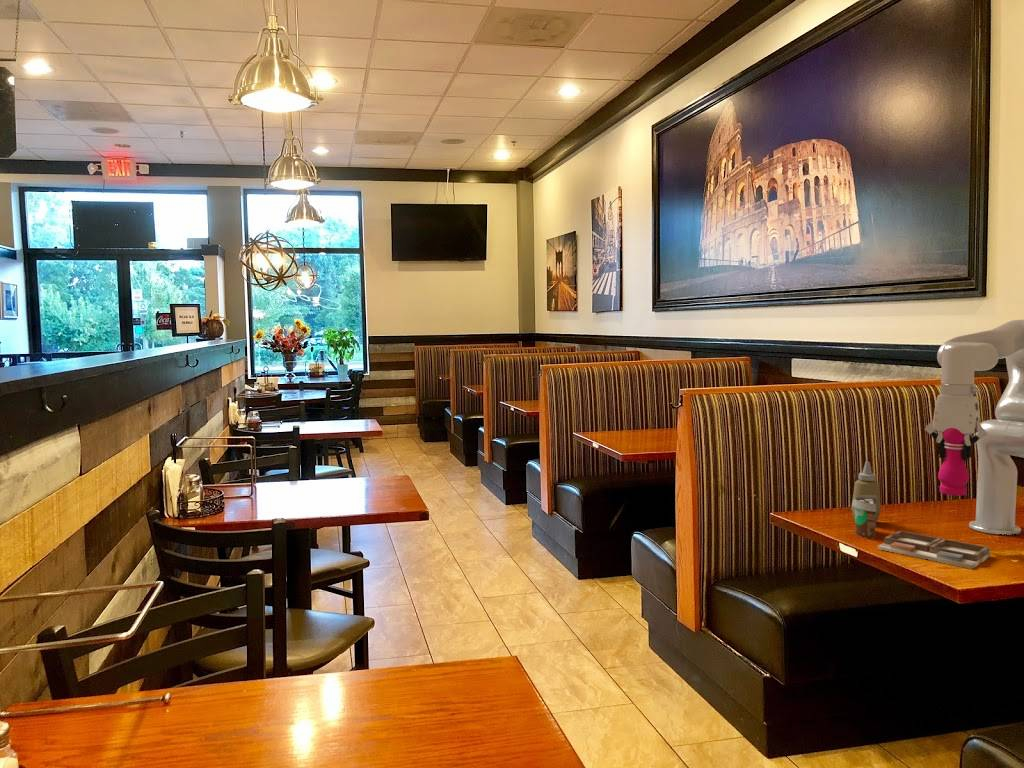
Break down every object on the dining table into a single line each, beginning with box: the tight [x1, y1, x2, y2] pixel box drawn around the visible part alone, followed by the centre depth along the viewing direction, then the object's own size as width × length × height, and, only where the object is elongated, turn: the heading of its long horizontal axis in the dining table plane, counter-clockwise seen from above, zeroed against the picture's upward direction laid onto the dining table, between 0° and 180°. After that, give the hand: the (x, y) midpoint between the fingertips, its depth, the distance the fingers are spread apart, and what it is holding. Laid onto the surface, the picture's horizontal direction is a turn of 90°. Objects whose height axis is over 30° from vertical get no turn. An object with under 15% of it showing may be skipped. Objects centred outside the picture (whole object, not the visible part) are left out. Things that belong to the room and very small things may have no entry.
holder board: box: [877, 530, 992, 570], centre depth 198 cm, size 15×22×2 cm
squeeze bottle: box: [850, 461, 882, 523], centre depth 229 cm, size 8×8×18 cm
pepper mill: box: [937, 428, 970, 497], centre depth 205 cm, size 7×7×20 cm
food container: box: [851, 495, 877, 539], centre depth 216 cm, size 12×6×10 cm, turn 154°
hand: (954, 458), depth 205 cm, fingers closed on pepper mill, 5 cm apart
